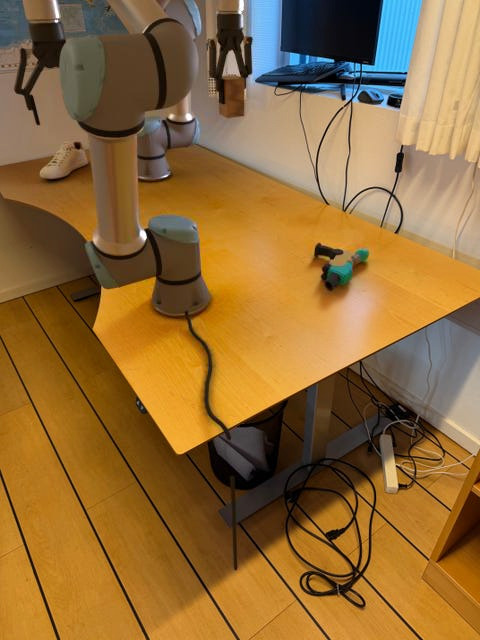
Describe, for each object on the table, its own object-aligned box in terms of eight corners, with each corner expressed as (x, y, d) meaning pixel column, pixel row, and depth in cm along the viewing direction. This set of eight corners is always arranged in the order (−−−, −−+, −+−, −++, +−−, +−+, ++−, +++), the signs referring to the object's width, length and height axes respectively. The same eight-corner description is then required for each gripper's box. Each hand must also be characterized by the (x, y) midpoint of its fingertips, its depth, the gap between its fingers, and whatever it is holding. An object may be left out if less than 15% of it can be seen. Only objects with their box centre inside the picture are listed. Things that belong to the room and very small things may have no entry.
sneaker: (33, 182, 200) (26, 152, 193) (72, 161, 222) (66, 134, 215) (55, 184, 198) (48, 154, 191) (91, 163, 220) (86, 135, 213)
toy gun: (291, 271, 128) (345, 285, 123) (324, 234, 147) (372, 245, 141) (290, 285, 131) (343, 299, 125) (322, 247, 150) (369, 258, 144)
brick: (235, 111, 151) (235, 74, 145) (244, 116, 147) (244, 77, 141) (219, 114, 149) (217, 76, 143) (227, 118, 145) (226, 79, 138)
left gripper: (253, 10, 138) (252, 96, 152) (193, 13, 131) (198, 103, 145) (266, 11, 133) (264, 101, 147) (204, 14, 126) (208, 108, 140)
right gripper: (96, 17, 114) (111, 111, 127) (-17, 23, 105) (11, 123, 118) (103, 19, 109) (118, 117, 122) (-14, 25, 100) (15, 130, 112)
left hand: (231, 101), depth 146 cm, fingers closed on brick, 6 cm apart
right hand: (66, 120), depth 120 cm, fingers open, 13 cm apart
